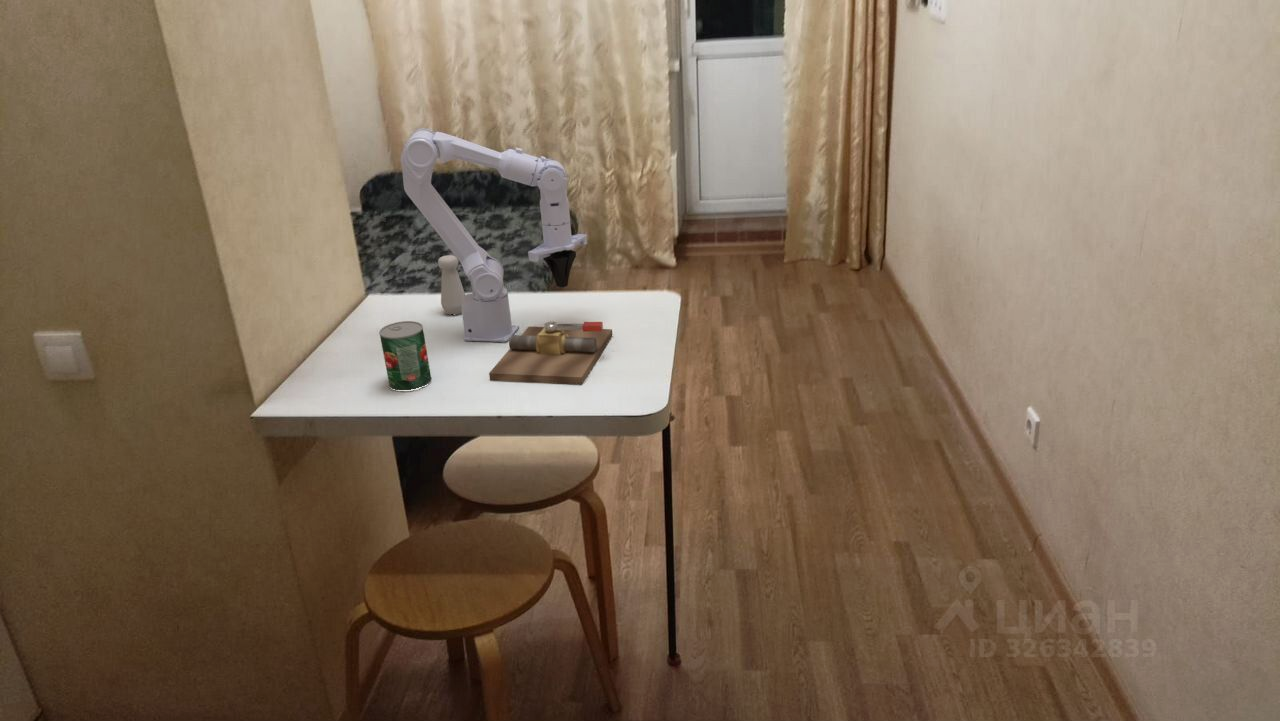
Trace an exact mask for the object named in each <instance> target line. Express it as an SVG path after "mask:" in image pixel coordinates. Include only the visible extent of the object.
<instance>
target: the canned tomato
mask: <svg viewBox="0 0 1280 721" xmlns="http://www.w3.org/2000/svg"><path fill="white" fill-rule="evenodd" d="M379 337H380V343H381V348H382V353H383V359H384V364H385V369H386V375H387V379H388V387H389V386H390V387H391V388H392V389H395V390H411V389H416V388H419V387H422V386H425V385H427V384H429V383H430V382H431V383H432V381H431V380H433V379H432V375H431V369H430V364H429V363H430V362H429V357H428V353H427V352H428V350H427V344H426V343H427V342H426V339H425V333H424V325H423V324H422V323H420V322H418V321H412V320H404V321H398V322H393V323H389V324H386V325H385V326H383V327H381V329H379ZM431 383H430V384H431ZM430 384H429V385H430ZM390 387H389V388H390ZM391 388H390V389H391ZM392 389H391V390H392Z"/></svg>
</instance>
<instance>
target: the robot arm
mask: <svg viewBox="0 0 1280 721" xmlns="http://www.w3.org/2000/svg"><path fill="white" fill-rule="evenodd" d="M438 159H440V164H445V163H447V162H450V161H453V160H460V161H465V162H469V163H473V164H477V165H481V166H483V167H488V168H492V169H495V170H497V171H498V173H499V175H500V177H501V178H503V179H506V180H509V181H514V182H517V183H520V184H523V185H527V186H530V187H538V189H539V192H540V194H539V195H540V198H539V207H540V215H541V216H540V217H541V218H540V219H541V227H542V237H543V243H541V244H539V245H538V246H537V247H535V248H533V249H532V250H528V252H527V253H528V261H529V262H533V263H537V262H539V261H540V260H544V262H545V263H546V265H547V266H548V268H549V270H550V272H551V274H552V277H553V279H554V282H555V286H556V287H558V288H559V287H560V288H565V287H568V284H569V280H570V274H571V269H572V266H573V263H574V261H575V259H576V257H577V253H576V251H575V250H574V249H575V247H578V246H583V245H584V246H585V245H588V237H587V234H583V233H578V234H573V235H572V229H571V227H572V226H571V216H570V215H571V214H570V206H569V205H570V204H569V198H568V190H567V186H568V182H569V179H568V177H567V173H566V169H565V167H564V166H563V164H562V163H560V162H559V161H558V160H555V159H554V158H546V157H545V156H542V155H541V156H540V157H537V156H535V155H531V154H527V153H525V152H523V149H522V148H520V147H515V149H512V148H509V149H506V150H505V151H502V152H500V151H497V150H495V149H491V148H488V147H485V146H483V145H480V144H478V143H474V142H472V141H469V140H466V139H463V138H461V137H457V136H454V135H451V134H448V133H445V132H442V131H441V132H440V131H435V132H434V131H432V130H431V129H428V128H419V129H416V130H414V131H413V132H412V133H411V134H410V135H409V137H408V140H407V142H406V143H405V145H404V147H403V149H402V153H401V157H400V164H401V171H402V172H401V173H402V178H403V179H402V181H403V189H404V193H406V195H407V197H408V198H409V199H410V200H411V201H412V203H413V204H414V205H415V207H417V209H418V210H419V211H420V213H421V214H422V215H423V217H424V218H425V219H426V220H427V222H428V224H430V225H431V228H433V229H434V231H435V232H436V234H438V236H439V238H441V240H442V241H443V242H444V244H445V245H446V246H447V247H448V249H449V250H450V252H452V253H453V256H455V257H457V260H458V262H459V263H460V264H461V266H462V270H463V271H464V274H465V275H466V277H467V278H468V279H469V281H470V284H471V290H472V293H467V294H465V296H464V298H463V301H462V314H461V315H462V322H463V323H462V324H463V330H464V337H463V340H464V341H468V342H469V341H470V342H471V341H473V342H492V343H493V342H497V343H498V342H500V343H501V342H502V343H507V342H509V338H510V336H511V335H515V333H516V331H518V330H519V328H520V326H519V325H513V324H512V316H511V315H512V314H511V308H510V307H511V306H510V301H509V300H510V299H509V291H508V289H507V288H506V287H505V286H504V284H505V283H504V275H505V270H504V266H503V264H502V263H501V261H500V260H498V259H496V258H494V257H492V256H491V255H489V253H488V252H487V251H486V250H485V249H484V248H482V247H481V246H480V245H479V244H478V243H477V241H476V240H475V239H474V237H473V236H472V235H471V234H470V232H469V231H468V230H467V229H466V228H465V226H464V224H463V223H462V222H461V221H460V220H459V218H458V217H457V215H456V214H455V213H454V212H453V210H452V209H451V208H450V206H449V205H448V204H447V203H446V202H445V200H444V198H443V197H442V196H441V195H440V193H439V192H438V191H437V190H436V188H435V187H434V185H432V178H433V172H434V171H433V169H434V167H435V165H436V163H437V160H438Z"/></svg>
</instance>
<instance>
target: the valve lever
mask: <svg viewBox="0 0 1280 721" xmlns="http://www.w3.org/2000/svg"><path fill="white" fill-rule="evenodd" d="M544 327H545V331H546V332H555V331H557V330H583V332H595V331H602V329H604V325H603V321H583V323H557V322H556V321H548V322H545V323H544Z"/></svg>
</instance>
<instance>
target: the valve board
mask: <svg viewBox="0 0 1280 721" xmlns="http://www.w3.org/2000/svg"><path fill="white" fill-rule="evenodd" d="M612 335H613V329H611V328H603V329H602V331H595V332H583V330H557V331H555V332H546V331H545V326H527V327H526V329H525V330H524V331H523V333H521V335H518V334H513V335H511V336H510V338H509V340H508V346H509V348H508V350H507V351H506V353H505V354H504V355H503V356H502V357H501V358H500V359H499V361H498V362H497V363H496V364H495V366H494V367H493V368H492V369H491V370H490V372H488V374H489V381H495V382H514V383H516V382H517V383H537V384H538V383H540V384H559V385H561V384H562V385H582V386H583V384H584V383H585V381H586V380H587V378H588V376H589V375H590V373H591V371H592V370H593V368H594V367H595V365H596V363H597V362H598V361H599V358H600V357H601V356H602V354H603V352H604V351H605V349H606V348H607V345H609V342H610V340H612V338H611V337H613V336H612Z"/></svg>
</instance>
